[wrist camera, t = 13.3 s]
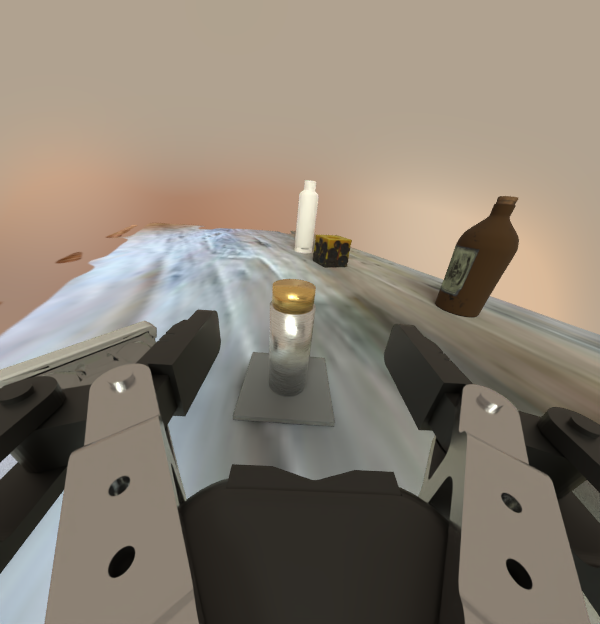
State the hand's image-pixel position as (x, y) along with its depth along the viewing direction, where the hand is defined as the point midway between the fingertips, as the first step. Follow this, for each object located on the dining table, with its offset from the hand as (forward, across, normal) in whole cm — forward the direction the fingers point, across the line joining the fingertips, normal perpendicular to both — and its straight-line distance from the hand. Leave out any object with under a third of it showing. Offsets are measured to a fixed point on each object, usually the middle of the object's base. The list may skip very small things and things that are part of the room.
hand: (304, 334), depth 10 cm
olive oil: (+40, -40, +16) cm, 59 cm away
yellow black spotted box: (+74, -12, +16) cm, 77 cm away
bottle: (+94, -2, +16) cm, 95 cm away
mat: (+10, +1, +14) cm, 18 cm away
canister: (+10, +1, +14) cm, 17 cm away
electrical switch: (+4, +16, +14) cm, 22 cm away
